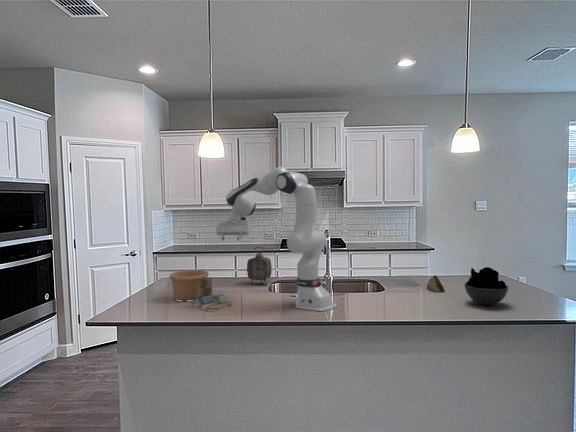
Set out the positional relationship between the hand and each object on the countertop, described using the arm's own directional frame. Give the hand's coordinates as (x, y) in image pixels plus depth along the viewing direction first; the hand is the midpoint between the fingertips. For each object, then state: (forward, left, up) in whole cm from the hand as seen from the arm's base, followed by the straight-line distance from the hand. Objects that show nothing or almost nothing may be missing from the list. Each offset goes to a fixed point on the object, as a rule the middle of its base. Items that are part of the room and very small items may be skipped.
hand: (230, 239), depth 232 cm
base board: (-7, +19, -33) cm, 39 cm away
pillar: (-5, +21, -27) cm, 35 cm away
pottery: (+17, +17, -34) cm, 41 cm away
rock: (-86, -85, -34) cm, 125 cm away
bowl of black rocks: (-118, -71, -34) cm, 141 cm away
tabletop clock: (+11, -34, -34) cm, 49 cm away
